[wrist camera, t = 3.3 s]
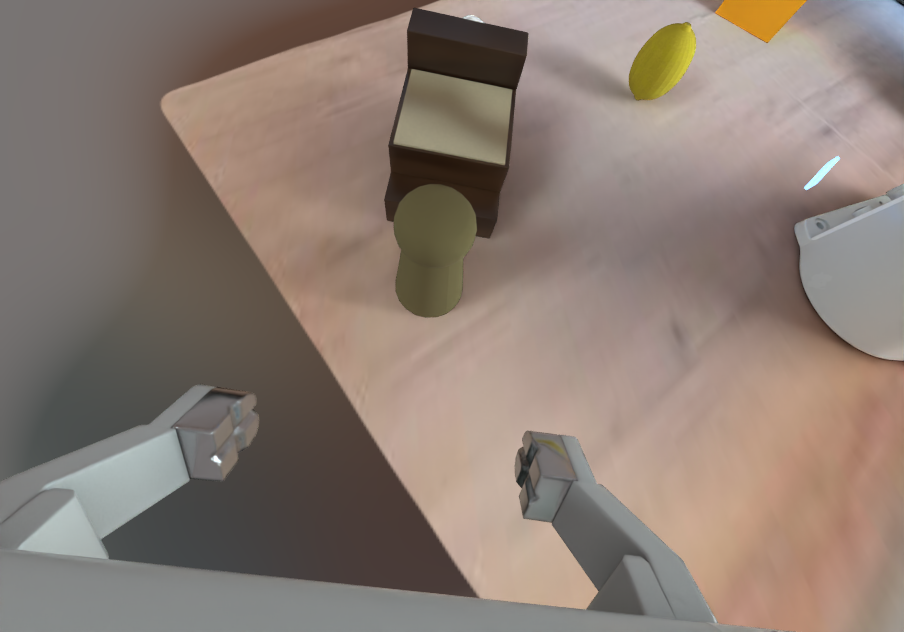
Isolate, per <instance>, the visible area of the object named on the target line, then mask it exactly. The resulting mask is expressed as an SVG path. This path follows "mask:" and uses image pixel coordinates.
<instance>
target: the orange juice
mask: <svg viewBox="0 0 904 632" xmlns="http://www.w3.org/2000/svg"><path fill="white" fill-rule="evenodd" d="M806 1H807V0H724V1H723V3H722V4H721V6H720V7H719V8H718V10H717V11H716V12H715V13H716V14H718V15H720V16H721V17H723V18H725V19H727V20H728V21H730V22H732V23H733V24H735V25H737V26H739V27H740V28H742V29H744V30H746V31H747V32H749V33H751V34H752V35H754V36H756V37H758V38H759V39H761V40H763V41H765V42H766V43H768V42H769V41H770V40H771V39H772V37H773V36H774V35H775V34H776V33H777V32H778V31H779V30H780V29H781V28H782V27H783V26H784V25H785V23H786V22H787V21H788V20H789V19H790V18H791V17H792V16H793V15H794V14H795V13H796V12H797V10H798V9H799V8H800V7H801V6H802V5H803V4H804V3H805V2H806Z"/></svg>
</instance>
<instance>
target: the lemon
mask: <svg viewBox="0 0 904 632" xmlns="http://www.w3.org/2000/svg"><path fill="white" fill-rule="evenodd" d="M695 49H696V37H695V34H694V32H693V30H692V29H691V24H690V23H688V22H685V23H683V24H681V23H676V24H671V25H668V26H666V27H664V28H662V29H660V30H659V31H657V32H656V33H655V34H654V35H653V36H652V37H651V38H650V39H649V40H648V41H647V42H646V43H645V45H644V46H643V47H642V48H641V50H640V51H639V53H638V54H637V56H636V58H635V60H634V62H633V64H632V67H631V70H630V74H629V86H630V90H631V91H632V93H633V94H634V97H635V99H636V100H641V99H643V100H652V99H656V98H658V97H661V96H662V95H664V94H666V93H667V92H668V91H669V90H670V89H672V88H673V87H674V86H675V85H676V84H677V83H678V82H679V80H680V79H681V78H682V76H683V75H684V73H685V72H686V70H687V68H688V67H689V65H690V63H691V61H692V58H693V56H694V53H695Z"/></svg>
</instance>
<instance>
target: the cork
mask: <svg viewBox="0 0 904 632" xmlns="http://www.w3.org/2000/svg"><path fill="white" fill-rule="evenodd" d="M476 232H477V224H476V215H475V212H474V210H473V208H472V206H471V204H470V203H469V201H468V200H467V199H466V198H465V197H464V196H463V195H462V194H461V193H460V192H458V191H457V190H455V189H453V188H452V187H448V186H445V185H441V184H428V185H424V186H420V187H418V188H416V189H414V190H413V191H411V192H409V193H408V194H407V195H406V196H405V197H404V198H403V199H402V200H401V202H400V203H399V205H398V208H397V211H396V213H395V216H394V234H395V237H396V240H397V242H398V245H399V247H400V248H401V255H400V260H399V266H398V271H397V276H396V293H397V296H398V299H399V301H400V302H401V303H402V305H403V306H404V307H405V308H406V309H407V310H409V311H410V312H412V313H413V314H415V315H418V316H422V317H438V316H441V315H444V314H446V313H448V312H449V311H450V310H452V309H453V308H454V307H455V306H456V304H457V303H458V301H459V300H460V297H461V293H462V286H463V257H464V256H465V255H466V254H467V253H468V251H469V250H470V249H471V247H472V246H473V243H474V240H475V236H476Z"/></svg>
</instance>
